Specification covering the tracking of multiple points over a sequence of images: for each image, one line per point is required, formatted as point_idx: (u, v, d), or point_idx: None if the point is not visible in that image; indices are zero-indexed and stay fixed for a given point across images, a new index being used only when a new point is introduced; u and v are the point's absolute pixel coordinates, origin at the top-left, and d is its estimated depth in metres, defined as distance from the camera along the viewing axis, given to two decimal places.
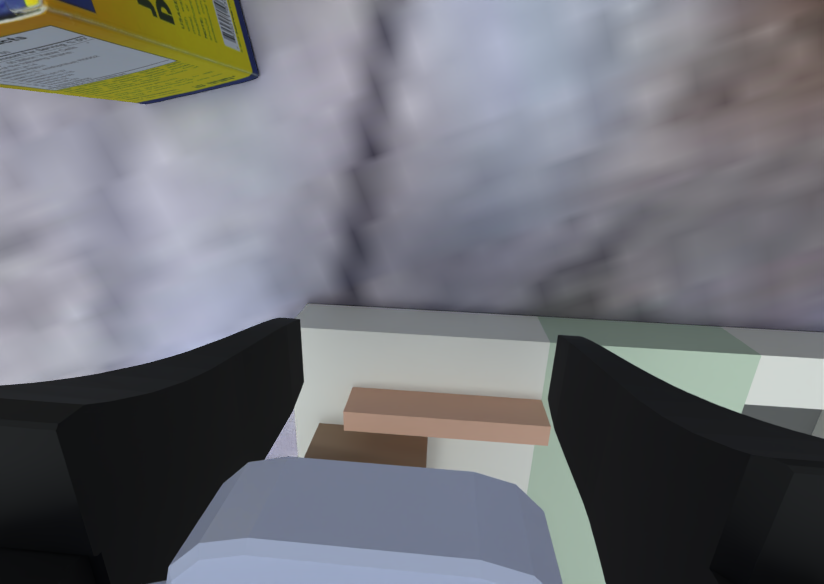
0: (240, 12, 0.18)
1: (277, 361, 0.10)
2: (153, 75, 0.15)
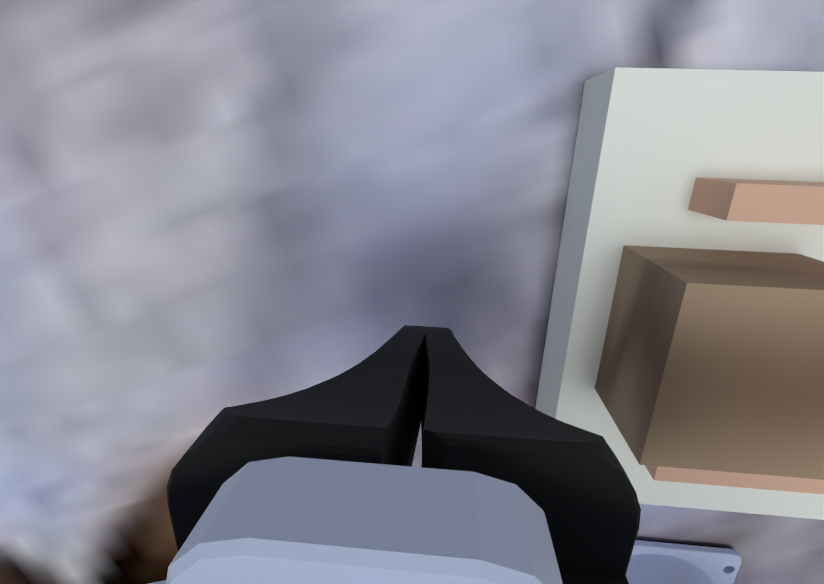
0: None
1: (420, 371, 0.10)
2: None
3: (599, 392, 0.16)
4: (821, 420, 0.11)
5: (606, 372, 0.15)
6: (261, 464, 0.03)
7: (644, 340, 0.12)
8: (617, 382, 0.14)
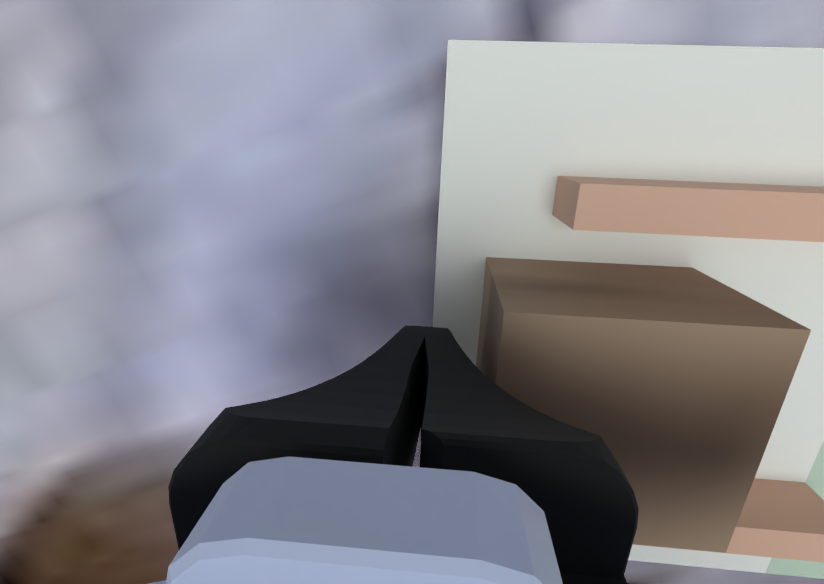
0: None
1: (421, 371, 0.10)
2: None
3: None
4: (691, 481, 0.09)
5: None
6: (261, 464, 0.03)
7: None
8: None
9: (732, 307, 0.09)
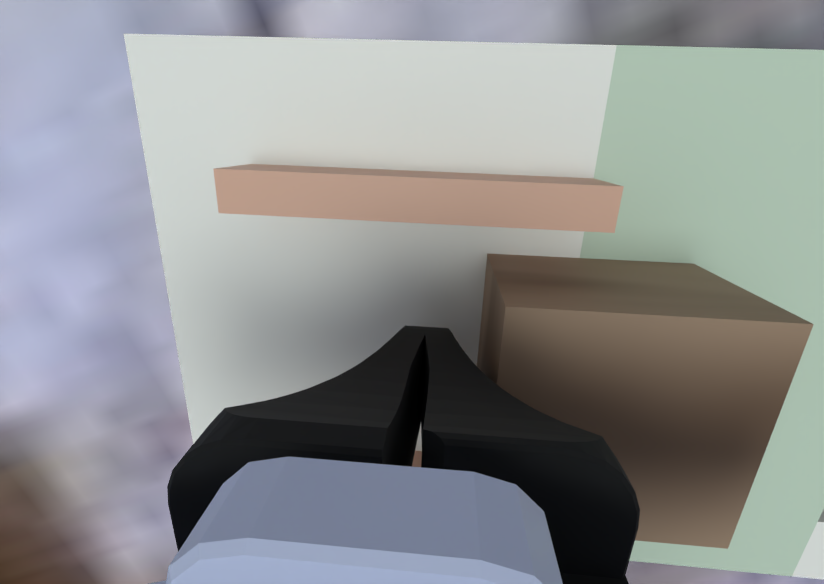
0: None
1: (420, 371, 0.10)
2: None
3: None
4: (693, 477, 0.09)
5: None
6: (261, 463, 0.03)
7: (488, 373, 0.10)
8: None
9: (734, 301, 0.09)
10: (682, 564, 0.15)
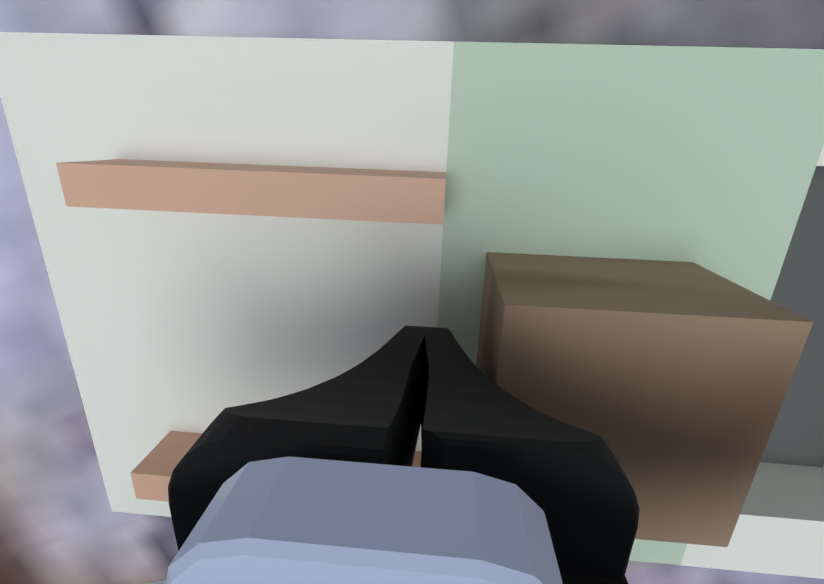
0: None
1: (420, 371, 0.10)
2: None
3: None
4: (692, 475, 0.09)
5: None
6: (261, 464, 0.03)
7: (487, 371, 0.10)
8: None
9: (733, 300, 0.09)
10: None
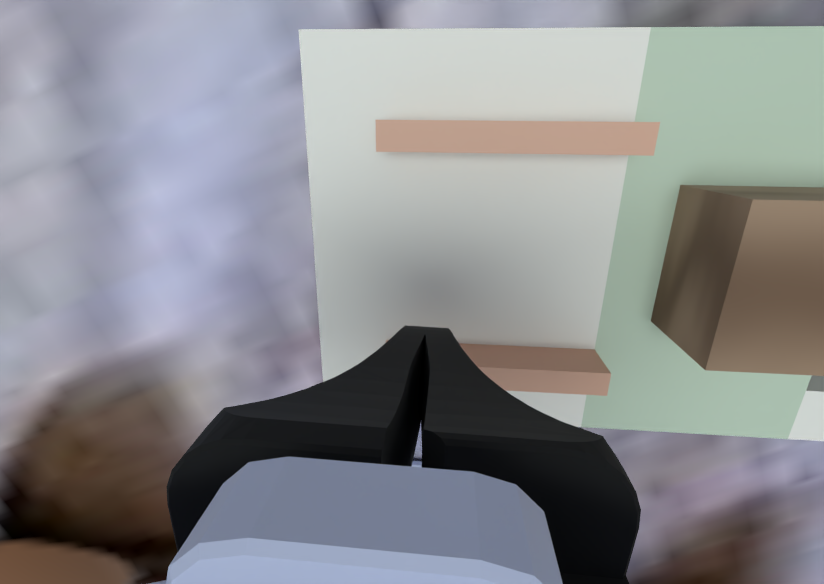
0: None
1: (420, 371, 0.10)
2: None
3: (656, 322, 0.17)
4: None
5: (664, 302, 0.17)
6: (261, 464, 0.03)
7: (707, 261, 0.14)
8: (677, 307, 0.16)
9: None
10: (702, 433, 0.19)
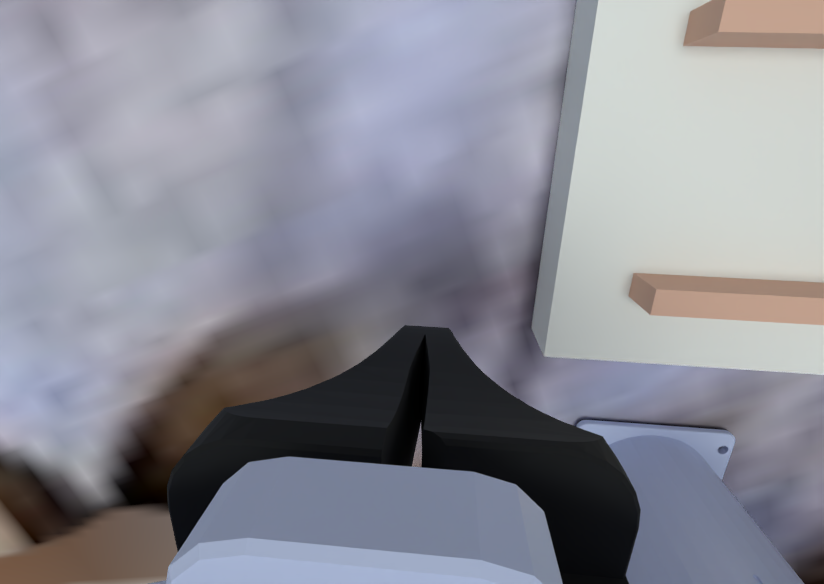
0: None
1: (420, 371, 0.10)
2: None
3: None
4: None
5: None
6: (261, 464, 0.03)
7: None
8: None
9: None
10: None
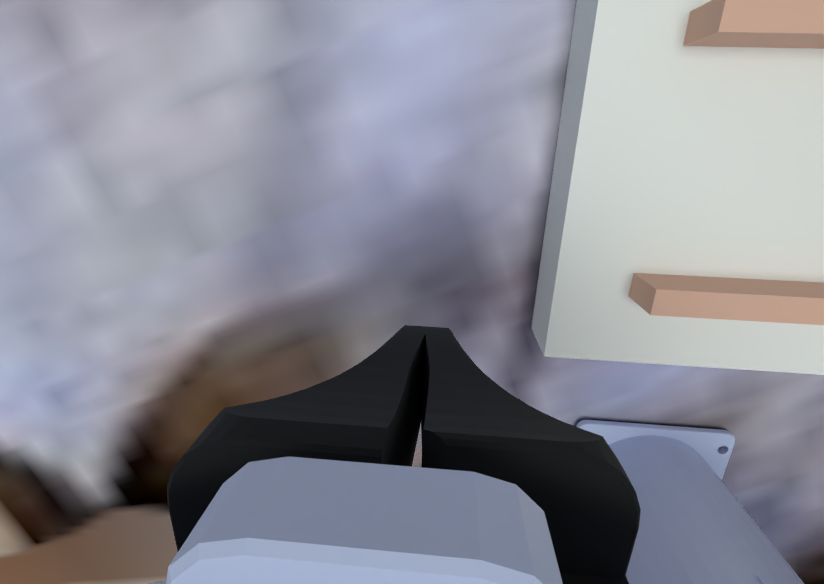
0: None
1: (420, 371, 0.10)
2: None
3: None
4: None
5: None
6: (261, 464, 0.03)
7: None
8: None
9: None
10: None
